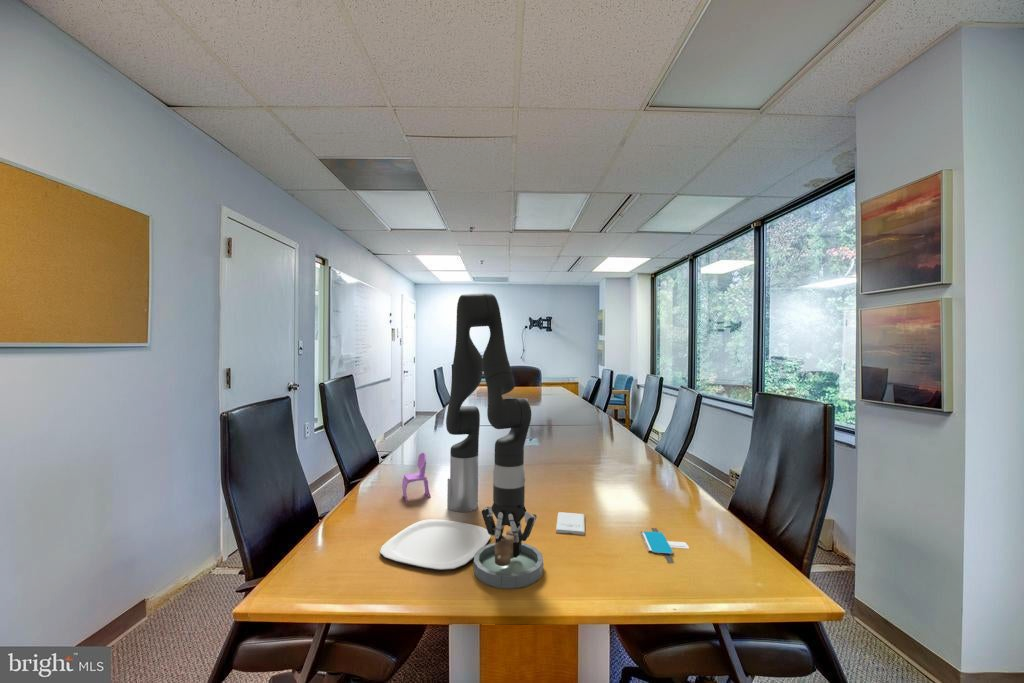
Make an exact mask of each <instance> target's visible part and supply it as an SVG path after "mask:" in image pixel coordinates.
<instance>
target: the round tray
mask: <svg viewBox="0 0 1024 683" xmlns="http://www.w3.org/2000/svg"><path fill="white" fill-rule="evenodd" d="M521 549H522V551H521V553H520V554H519V556H518V557H517V558H515V557H514V558H512V559H510V564H509V565H506V566H499V565H497V564H495V542H491V543H487V544H486V545H485V546H484V547H482V548H480V549H479V550H478V551H477V552H476V553H475V555H474V558H473V572H474V575H475V577H476V578H477V579H478V580H479V581H480V582H481V583H482V584H485V585H486V586H489V587H492V588H496V589H501V590H515V589H521V588H527V587H529V586H532V585H533V584H535V583H537V582H538V581H539V580H540V578H541V577H542V575H543V573H544V572H543V571H544V558H543V557H544V556H543V553H542V552H541V551H540V550H539V549H538V548H537V547H534V546H533V545H530V544H528V543H525V542H522V548H521Z"/></svg>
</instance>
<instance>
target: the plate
mask: <svg viewBox="0 0 1024 683" xmlns="http://www.w3.org/2000/svg"><path fill="white" fill-rule="evenodd" d="M491 535H492V534H491ZM491 535H490V534H488V531H487V528H486V527H483V526H479V525H475V524H472V523H465V522H461V521H456V520H455V521H454V520H448V519H438V518H431V519H430V518H429V519H423V520H420V521H416V522H414V523H413V524H410V525H409V526H407V527H405V528H403V529H402V530H401V531H398V533H396V534H395V535H394V536H392V537H391V538H390V539H388V540H387V541H386V542H385V543H384V544H383V545H382V546H381V547H380V551H379V554H380V555H381V556H383V557H384V558H385V559H386V560H387V559H388V560H390V561H393V562H396V563H400V564H404V565H408V566H413V567H417V568H423V569H427V570H429V569H430V570H435V571H448V570H455V569H458V568H460V567H463V566H466V565H467V564H469V562H470V561H472V560H474V555H475V553H476V552H477V551H478V550H479V549H480V548H482V547H484V546H486V545H488V544H489V543H488V542H489V541H490V539H491V537H492V536H491Z"/></svg>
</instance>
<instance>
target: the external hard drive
mask: <svg viewBox="0 0 1024 683" xmlns="http://www.w3.org/2000/svg"><path fill="white" fill-rule="evenodd" d="M556 519H557V520H556V525H555V527H556V529H555V533H557V534H572V535H581V536H584V535H586V533H585V514H584V513H575V512H573V513H572V512H562V511H559V512H558V513H557V518H556Z"/></svg>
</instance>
